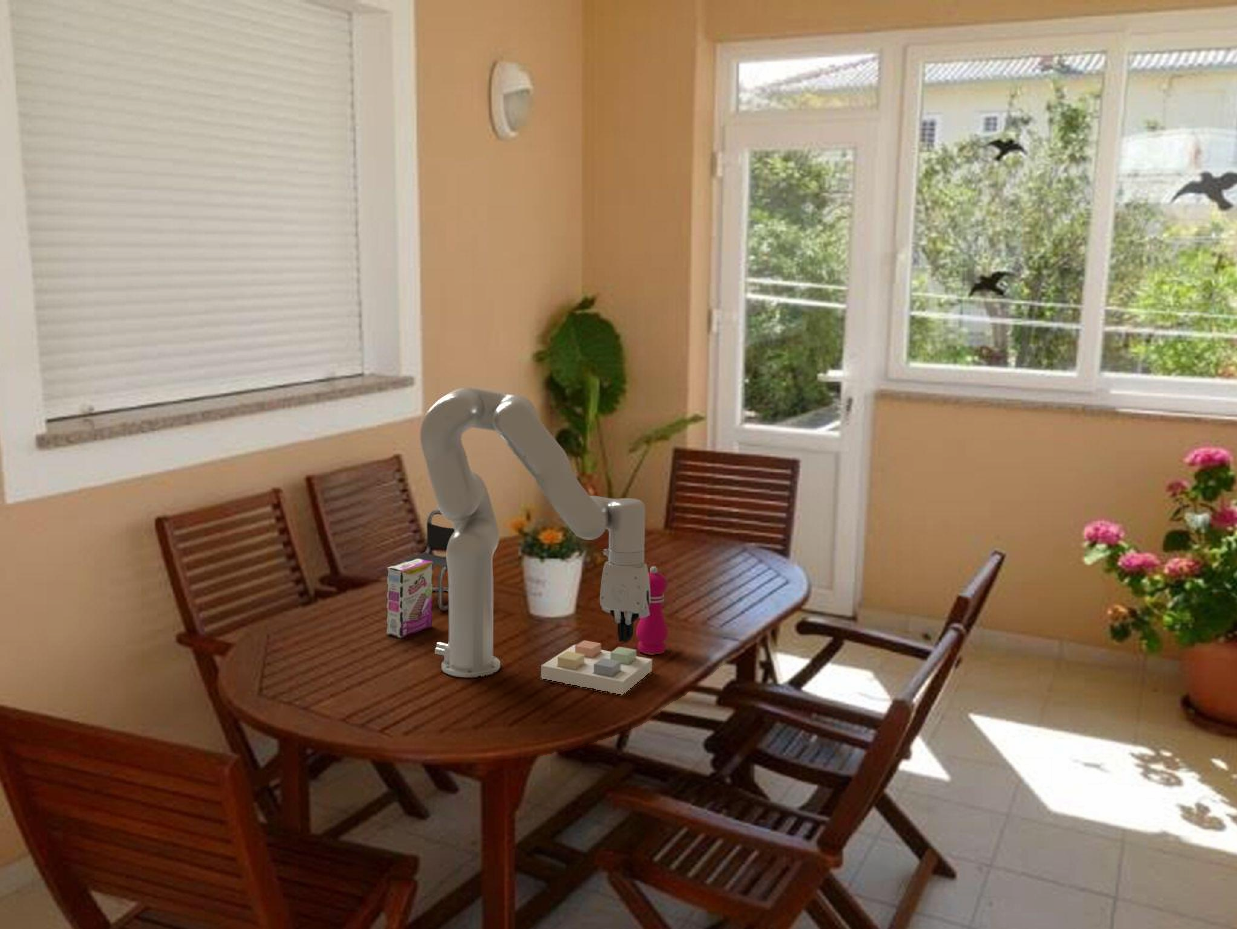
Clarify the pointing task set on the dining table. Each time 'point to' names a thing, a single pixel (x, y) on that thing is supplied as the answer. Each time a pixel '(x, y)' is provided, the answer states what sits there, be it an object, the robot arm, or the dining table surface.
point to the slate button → (607, 667)
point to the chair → (439, 540)
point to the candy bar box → (409, 597)
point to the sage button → (623, 655)
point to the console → (591, 680)
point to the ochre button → (571, 660)
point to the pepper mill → (653, 617)
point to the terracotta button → (588, 649)
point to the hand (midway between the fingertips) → (625, 640)
